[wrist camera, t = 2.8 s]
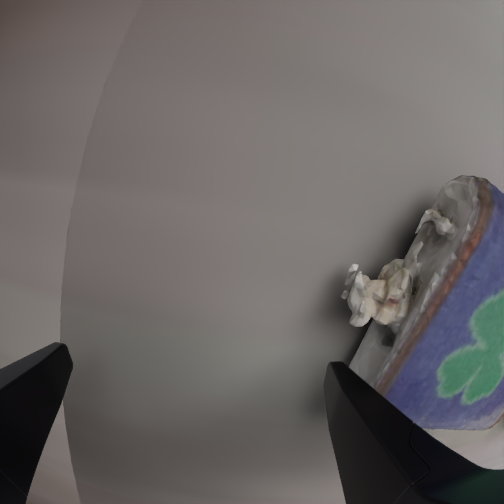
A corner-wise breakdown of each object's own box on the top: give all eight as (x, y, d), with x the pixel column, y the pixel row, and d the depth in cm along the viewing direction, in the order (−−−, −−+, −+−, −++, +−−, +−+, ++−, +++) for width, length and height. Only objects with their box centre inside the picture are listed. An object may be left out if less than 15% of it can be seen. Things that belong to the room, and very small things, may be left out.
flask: (485, 440, 9) (288, 427, 9) (465, 402, 12) (286, 370, 11) (595, 274, 6) (442, 135, 6) (557, 250, 9) (395, 135, 8)
